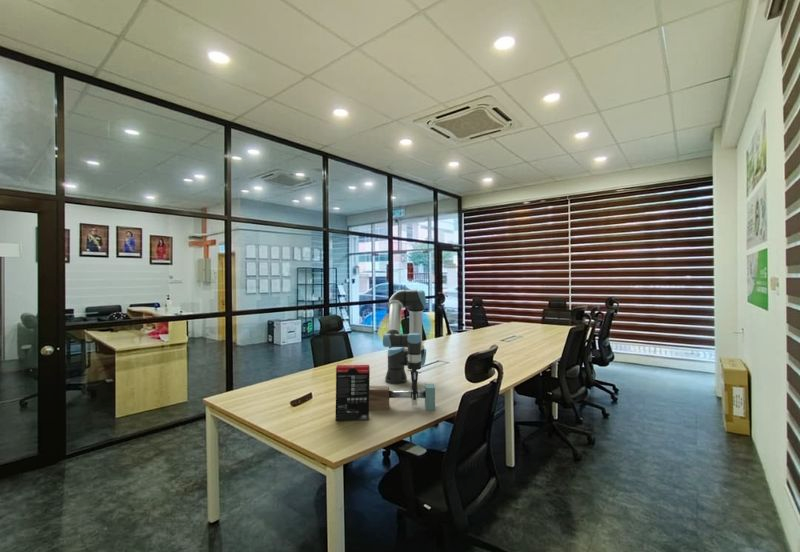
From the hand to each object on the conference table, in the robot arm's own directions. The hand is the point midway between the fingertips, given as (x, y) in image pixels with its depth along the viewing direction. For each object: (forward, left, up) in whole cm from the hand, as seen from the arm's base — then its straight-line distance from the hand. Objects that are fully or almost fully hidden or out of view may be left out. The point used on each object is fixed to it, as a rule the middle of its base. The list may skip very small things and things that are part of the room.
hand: (414, 403), depth 201 cm
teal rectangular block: (0, +9, -2) cm, 9 cm away
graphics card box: (+16, -32, -2) cm, 36 cm away
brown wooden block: (0, -20, -2) cm, 20 cm away
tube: (0, -3, +3) cm, 4 cm away
